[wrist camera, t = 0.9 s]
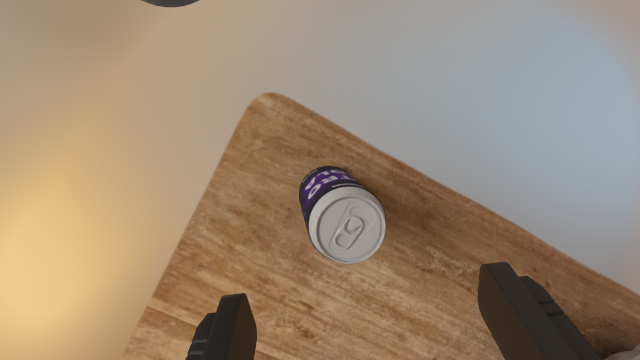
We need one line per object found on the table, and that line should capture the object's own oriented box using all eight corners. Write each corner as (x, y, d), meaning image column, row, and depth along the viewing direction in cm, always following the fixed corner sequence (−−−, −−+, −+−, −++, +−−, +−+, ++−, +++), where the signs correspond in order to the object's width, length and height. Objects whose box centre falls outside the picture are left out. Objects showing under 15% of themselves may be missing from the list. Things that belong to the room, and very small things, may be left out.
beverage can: (364, 184, 35) (407, 217, 24) (333, 229, 36) (360, 283, 24) (319, 153, 34) (340, 172, 22) (287, 200, 35) (292, 242, 23)
